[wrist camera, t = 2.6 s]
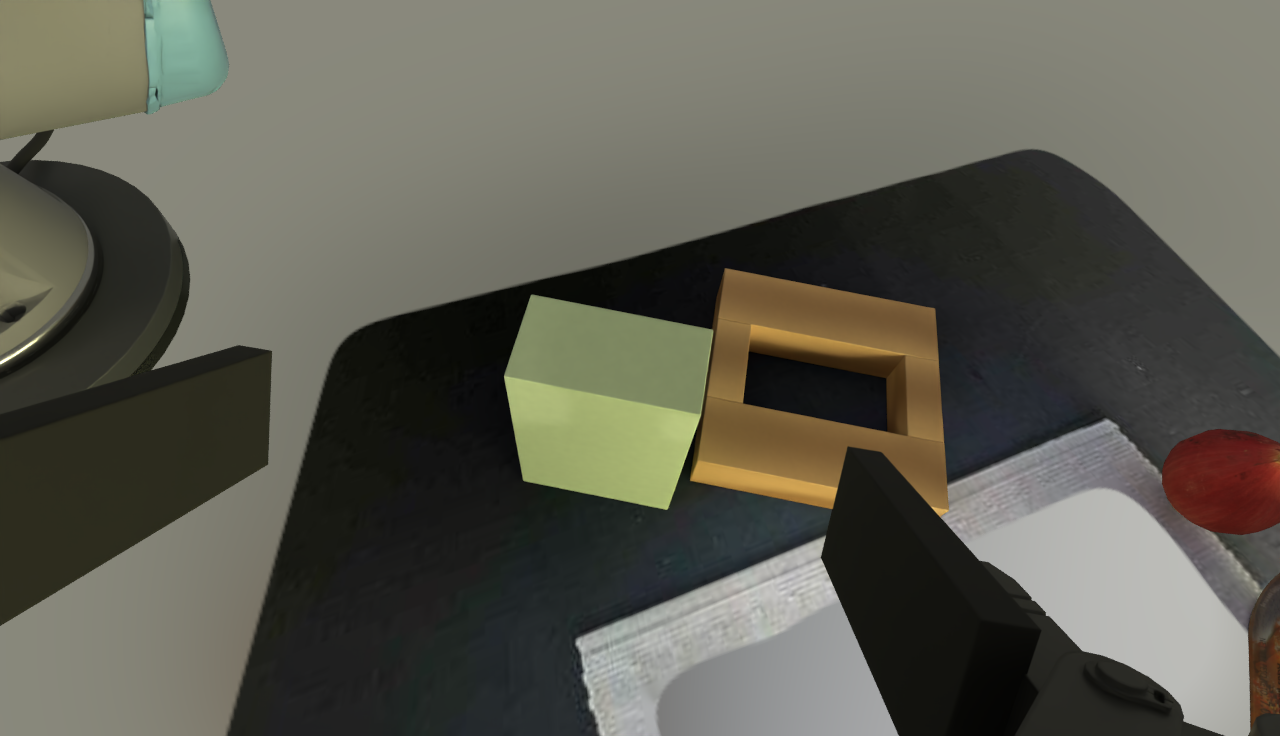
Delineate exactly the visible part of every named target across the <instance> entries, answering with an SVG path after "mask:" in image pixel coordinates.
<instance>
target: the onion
mask: <svg viewBox="0 0 1280 736" xmlns="http://www.w3.org/2000/svg"><path fill="white" fill-rule="evenodd" d="M1162 485H1163V488H1164V491H1165V493H1166V496H1167V499H1168V501H1169V502H1170V503H1171V505H1172V506H1173V507H1174V509H1175V510H1176V511H1178V512H1179V513H1180V514H1181V515H1182V516H1184V517H1185V518H1186V519H1187V520H1189V521H1190V522H1192V523H1194V524H1196V525H1198V526H1200V527H1202V528H1205V529H1207V530H1209V531H1212V532H1220V533H1228V534H1238V535H1244V534H1250V533H1255V532H1259V531H1262V530H1264V529H1267V528H1270V527H1272V526H1274V525H1276V524H1278V523H1280V443H1278V442H1276V441H1274V440H1271V439H1269V438H1266V437H1264V436H1261V435H1259V434H1256V433H1252V432H1248V431H1236V430H1224V429H1216V430H1208V431H1205V432H1203V433H1200V434H1198V435H1195V436H1193V437H1190V438H1188V439H1185V440H1183V441H1181V442H1179V443H1178V444H1177V445H1176V446H1175V447H1174V448H1173V449H1172V450H1171V451H1170V453H1169V455H1168V457H1167V459H1166V460H1165V462H1164V466H1163V470H1162Z"/></svg>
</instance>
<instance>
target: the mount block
mask: <svg viewBox="0 0 1280 736" xmlns="http://www.w3.org/2000/svg"><path fill="white" fill-rule="evenodd" d="M712 330H713V337H712V343H711V350H710V357H709V364H708V371H707V377H706V384H705V391H704V398H703V405H702V411H701V416H700V419H699V422H698V428H697V434H696V441H695V448H694V455H693V461H692V468H691V475H690V481H695V482H700V483H705V484H710V485H715V486H720V487H725V488H730V489H735V490H740V491H745V492H750V493H755V494H760V495H765V496H770V497H775V498H780V499H785V500H790V501H795V502H800V503H805V504H810V505H815V506H820V507H825V508H830V509H833V505H834V501H835V497H836V493H837V488H838V484H839V480H840V476H841V472H842V468H843V463H844V459H845V455H846V451H847V447H848V446H849V447H855V448H861V449H867V450H873V451H879V452H882V453H883V454H884V455H885V456H886V457H887V458H888V460H889V461H890V462H891V463H892V464H893V465H894V466H895V467H896V468H897V470H898V471H899V472H900V473H901V474H902V475H903V476H904V477H905V478H906V480H907V481H908V482H909V483H910V484H911V485H912V486H913V487H914V489H915V490H916V491H917V492H918V493H919V494H920V495H921V496H922V497H923V499H924V500H925V501H926V502H927V503H928V504H929V505H930V506H931V507H932V509H933V510H934V511H935V512H936V513H937V514H938V515H939V516H942V515H943V514H945V513H946V512H948V511H949V506H948V491H947V476H946V462H945V447H944V434H943V420H942V405H941V390H940V375H939V362H938V361H939V358H938V343H937V329H936V314H935V309H934V308H929V307H924V306H918V305H913V304H908V303H903V302H898V301H892V300H887V299H882V298H877V297H872V296H867V295H861V294H856V293H851V292H846V291H841V290H835V289H830V288H825V287H820V286H815V285H809V284H804V283H799V282H794V281H789V280H783V279H778V278H773V277H768V276H763V275H757V274H752V273H747V272H742V271H737V270H731V269H725V271H724V274H723V278H722V281H721V284H720V288H719V291H718V294H717V300H716V306H715V313H714V320H713V327H712ZM749 351H750V352H755V353H760V354H765V355H770V356H775V357H780V358H785V359H791V360H796V361H801V362H806V363H811V364H816V365H821V366H826V367H832V368H837V369H842V370H847V371H852V372H857V373H862V374H867V375H873V376H878V377H883V378H887V379H886V385H887V432H884V431H879V430H874V429H869V428H864V427H859V426H854V425H849V424H844V423H839V422H834V421H828V420H823V419H818V418H813V417H808V416H803V415H798V414H793V413H788V412H783V411H778V410H773V409H768V408H762V407H757V406H752V405H747V404H743V397H744V388H745V379H746V370H747V361H748V352H749Z"/></svg>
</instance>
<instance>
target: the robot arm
mask: <svg viewBox="0 0 1280 736" xmlns="http://www.w3.org/2000/svg"><path fill="white" fill-rule="evenodd" d="M228 68H229V62H228V57H227V53H226V49H225V46H224V43H223V40H222V36H221V33H220V30H219V27H218V24H217V20H216V17H215V14H214V11H213V8H212V4H211V1H210V0H0V140H2V139H6V138H12V137H17V136H22V135H27V134H33V133H36V135H35V136H34V137H33V138H32V140H31V141H30V142H29V143H28V144H27V145H26V146H25V147H24V148H23V149H21V150H20V151H19V152H18V154H17V155H16V156H15V157H14V158H13V159H12V160H11V161H10V163H9V164H8V165H7V166H6V167H5V166H3V165H1V164H0V379H2V378H4V377H6V376H8V375H10V374H12V373H14V372H16V371H18V370H19V369H21V368H23V367H24V366H26V365H28V364H29V363H31V362H32V361H34V360H35V359H37V358H38V357H40V356H41V355H43V354H44V353H45V352H47V351H48V350H49V349H50V348H52V347H53V346H54V345H55V344H57V343H58V342H59V341H60V340H61V339H62V338H63V337H64V336H65V335H66V334H67V333H68V332H69V331H70V330H71V329H72V328H73V327H74V326H75V325H76V324H77V323H78V321H79V320H80V319H81V318H82V316H83V315H84V314H85V312H86V311H87V309H88V308H89V306H90V305H91V303H92V301H93V299H94V297H95V296H96V293H97V291H98V288H99V286H100V283H101V279H102V275H103V268H104V258H103V252H102V248H101V245H100V242H99V240H98V238H97V236H96V234H95V233H94V232H93V230H92V229H91V228H90V227H89V226H88V224H87V223H86V222H85V221H84V220H83V219H82V218H81V217H80V216H79V214H78V213H77V212H76V211H75V210H74V209H73V208H72V207H71V206H69V205H68V204H67V203H65V202H64V201H63V200H61V199H60V198H59V197H57V196H56V195H55V194H53V193H51V192H50V191H48V190H46V189H44V188H42V187H39V186H37V185H35V184H33V183H31V182H29V181H28V180H26V179H24V178H23V177H21V176H20V175H18V174H19V173H20V172H21V171H22V169H23V168H24V167H25V166H26V165H27V163H28V162H29V161H30V160H31V159H32V158H33V157H34V156H35V155H36V154H37V153H38V152H39V151H40V150H41V149H42V148H43V147H44V145H45V144H46V143H47V141H48V140H49V138H50V136H51V135H52V133H53V131H54V129H58V128H63V127H68V126H74V125H79V124H84V123H89V122H94V121H99V120H104V119H110V118H115V117H120V116H125V115H130V114H135V113H140V112H145V113H146V114H153V113H154V112H157V111H158V110H159V109H160V107H162V106H166V105H170V104H174V103H178V102H182V101H186V100H190V99H194V98H198V97H202V96H206V95H209V94H211V93H213V92H215V91H217V90H218V89H219V88H220V87H221V85H222V84H223V82H224V81H225V79H226V78H227V75H228ZM271 363H272V351H269V350H263V349H258V348H252V347H246V346H240V345H239V346H235V347H231V348H228V349H224V350H221V351H218V352H214V353H211V354H207V355H204V356H200V357H197V358H193V359H190V360H186V361H183V362H180V363H176V364H172V365H169V366H165V367H162V368H159V369H155V370H152V371H148V372H145V373H141V374H138V375H134V376H131V377H127V378H124V379H120V380H117V381H113V382H110V383H106V384H103V385H100V386H96V387H93V388H89V389H86V390H82V391H79V392H75V393H72V394H68V395H65V396H61V397H58V398H54V399H51V400H47V401H44V402H41V403H37V404H34V405H30V406H27V407H23V408H20V409H16V410H13V411H9V412H6V413H2V414H0V626H1V625H2V624H4V623H6V622H7V621H9V620H11V619H12V618H14V617H16V616H17V615H19V614H21V613H22V612H24V611H26V610H27V609H29V608H31V607H32V606H34V605H35V604H37V603H39V602H41V601H42V600H44V599H46V598H47V597H49V596H50V595H52V594H54V593H56V592H57V591H58V590H60V589H62V588H64V587H65V586H67V585H69V584H70V583H72V582H74V581H75V580H77V579H79V578H80V577H82V576H84V575H85V574H87V573H89V572H90V571H92V570H94V569H95V568H97V567H99V566H100V565H102V564H104V563H105V562H107V561H108V560H110V559H112V558H113V557H115V556H117V555H119V554H120V553H122V552H124V551H125V550H127V549H129V548H130V547H132V546H134V545H135V544H137V543H138V542H140V541H142V540H143V539H145V538H147V537H148V536H150V535H152V534H153V533H155V532H157V531H158V530H160V529H162V528H163V527H165V526H167V525H168V524H170V523H172V522H173V521H175V520H176V519H178V518H180V517H182V516H183V515H185V514H186V513H188V512H190V511H191V510H193V509H195V508H197V507H198V506H200V505H201V504H203V503H205V502H207V501H208V500H210V499H211V498H213V497H215V496H216V495H218V494H220V493H221V492H223V491H225V490H226V489H228V488H230V487H231V486H233V485H235V484H236V483H238V482H239V481H241V480H243V479H245V478H246V477H248V476H250V475H251V474H253V473H254V472H256V471H258V470H260V469H261V468H263V467H265V466H266V465H268V450H269V421H270V392H271ZM821 559H822V561H823V563H824V565H825V568H826V570H827V572H828V575H829V577H830V579H831V581H832V584H833V586H834V588H835V591H836V593H837V595H838V597H839V600H840V602H841V604H842V607H843V609H844V611H845V613H846V616H847V618H848V620H849V623H850V625H851V627H852V630H853V632H854V634H855V636H856V639H857V641H858V643H859V646H860V648H861V650H862V652H863V655H864V657H865V659H866V661H867V664H868V666H869V668H870V671H871V673H872V675H873V677H874V680H875V682H876V684H877V687H878V689H879V691H880V694H881V696H882V698H883V700H884V703H885V705H886V707H887V710H888V712H889V714H890V716H891V719H892V721H893V723H894V726H895V728H896V730H897V733H898V735H899V736H1224V735H1221V734H1218V733H1215V732H1212V731H1209V730H1206V729H1203V728H1200V727H1197V726H1194V725H1192V724H1189V723H1186V722H1184V721H1183V719H1184V715H1183V712H1182V709H1181V706H1180V704H1179V703H1178V702H1177V701H1176V700H1175V699H1174V697H1172V695H1171V694H1170V693H1169V692H1168V691H1167V690H1166V689H1164V688H1163V687H1161V686H1160V685H1159V684H1157V683H1156V682H1154V681H1153V680H1152V679H1151V678H1149V677H1148V676H1145V675H1144V674H1142V673H1140V672H1138V671H1136V670H1135V669H1133V668H1131V667H1129V666H1127V665H1125V664H1123V663H1120V662H1117V661H1115V660H1112V659H1110V658H1107V657H1105V656H1101V655H1097V654H1092V653H1088V652H1083V651H1082V650H1081V649H1080V648H1079V647H1078V646H1077V645H1076V644H1075V643H1074V642H1073V641H1072V640H1071V639H1070V638H1069V637H1068V636H1067V634H1066V633H1065V632H1064V631H1063V630H1062V629H1061V628H1060V627H1059V626H1058V625H1057V624H1056V623H1055V622H1054V621H1053V620H1052V619H1051V618H1050V617H1049V616H1046V612H1045V611H1044V610H1043V609H1042V608H1041V607H1040V606H1039V605H1038V604H1037V603H1036V602H1035V601H1032V600H1031V597H1030V596H1029V594H1028V593H1027V592H1026V591H1025V590H1024V589H1023V588H1022V587H1021V586H1020V585H1019V584H1018V583H1017V582H1016V581H1015V580H1014V579H1013V578H1011V577H1010V576H1008V575H1007V574H1005V573H1004V572H1002V571H1001V570H999V569H998V568H996V567H995V566H993V565H991V564H990V563H989V562H983V561H979V560H978V559H977V558H976V557H975V555H974V554H973V553H972V552H971V551H970V550H969V549H968V548H967V546H966V545H965V544H964V543H963V542H962V541H961V540H960V539H959V538H958V536H957V535H956V534H955V533H954V532H953V531H952V530H951V529H950V528H949V526H948V525H947V524H946V523H945V522H944V521H943V520H942V519H941V518H940V516H939V515H938V514H937V513H936V512H935V511H934V510H933V509H932V507H931V506H930V505H929V504H928V503H927V502H926V501H925V500H924V499H923V497H922V496H921V495H920V494H919V493H918V492H917V491H916V490H915V489H914V487H913V486H912V485H911V484H910V483H909V482H908V481H907V480H906V478H905V477H904V476H903V475H902V474H901V473H900V472H899V471H898V470H897V468H896V467H895V466H894V465H893V464H892V463H891V462H890V461H889V460H888V458H887V457H886V456H885V455H884V454H883V453H882V452H879V451H873V450H867V449H861V448H855V447H849V446H848V447H847V451H846V455H845V459H844V463H843V468H842V472H841V476H840V480H839V484H838V488H837V493H836V497H835V501H834V505H833V509H832V513H831V518H830V522H829V526H828V530H827V534H826V539H825V543H824V547H823V551H822V555H821ZM1248 736H1280V714H1271V713H1264V714H1262V715H1260V716H1258V717H1256V719H1255V721H1254V724H1253V726H1252V728H1251V731H1250V733H1249V735H1248Z"/></svg>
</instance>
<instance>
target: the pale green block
mask: <svg viewBox="0 0 1280 736" xmlns="http://www.w3.org/2000/svg"><path fill="white" fill-rule="evenodd" d="M712 337H713V330H711V329H706V328H701V327H696V326H691V325H686V324H680V323H675V322H670V321H665V320H660V319H655V318H650V317H645V316H639V315H634V314H629V313H624V312H619V311H614V310H609V309H603V308H598V307H593V306H588V305H583V304H578V303H573V302H567V301H562V300H557V299H552V298H547V297H542V296H537V295H531V297H530V300H529V303H528V306H527V309H526V312H525V315H524V318H523V321H522V324H521V327H520V330H519V333H518V336H517V339H516V342H515V345H514V348H513V351H512V354H511V357H510V360H509V363H508V366H507V369H506V372H505V375H504V379H505V384H506V390H507V395H508V401H509V406H510V412H511V417H512V422H513V428H514V433H515V439H516V444H517V450H518V455H519V460H520V466H521V471H522V477H523V481H527V482H532V483H537V484H542V485H547V486H552V487H557V488H561V489H566V490H571V491H576V492H581V493H586V494H591V495H596V496H601V497H606V498H611V499H616V500H621V501H626V502H631V503H636V504H641V505H646V506H651V507H656V508H661V509H666V510H667V509H668V507H669V504H670V501H671V499H672V496H673V493H674V490H675V487H676V484H677V482H678V479H679V476H680V473H681V470H682V467H683V465H684V462H685V459H686V456H687V453H688V450H689V448H690V445H691V442H692V439H693V436H694V433H695V431H696V428H697V425H698V422H699V419H700V416H701V411H702V405H703V398H704V391H705V384H706V377H707V371H708V364H709V357H710V350H711V343H712Z"/></svg>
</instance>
